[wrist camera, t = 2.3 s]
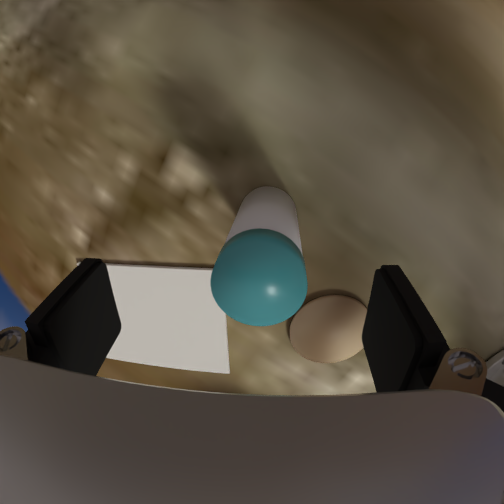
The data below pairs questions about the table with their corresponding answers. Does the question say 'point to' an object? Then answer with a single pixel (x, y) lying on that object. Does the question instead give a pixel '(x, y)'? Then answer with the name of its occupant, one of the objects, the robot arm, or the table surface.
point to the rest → (328, 328)
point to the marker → (261, 261)
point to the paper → (168, 318)
